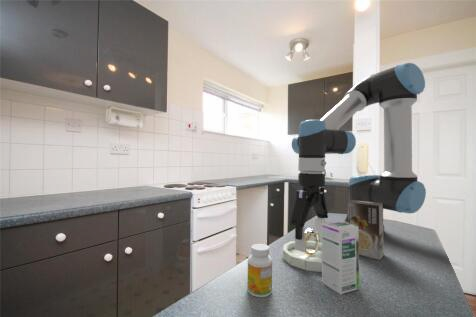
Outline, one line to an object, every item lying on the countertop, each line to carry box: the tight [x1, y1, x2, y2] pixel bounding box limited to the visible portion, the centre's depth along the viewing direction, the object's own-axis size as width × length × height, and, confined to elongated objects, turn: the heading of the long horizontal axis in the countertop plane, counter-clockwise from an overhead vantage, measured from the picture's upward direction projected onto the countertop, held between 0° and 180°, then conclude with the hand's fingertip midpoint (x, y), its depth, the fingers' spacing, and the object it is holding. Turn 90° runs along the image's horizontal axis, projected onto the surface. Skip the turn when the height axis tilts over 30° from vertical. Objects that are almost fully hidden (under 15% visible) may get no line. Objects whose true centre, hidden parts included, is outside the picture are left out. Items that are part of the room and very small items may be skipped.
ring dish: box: [282, 240, 322, 273], centre depth 67 cm, size 16×16×2 cm
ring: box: [304, 227, 321, 256], centre depth 68 cm, size 7×3×8 cm, turn 118°
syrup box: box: [321, 219, 360, 296], centre depth 53 cm, size 6×6×14 cm
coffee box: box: [347, 200, 385, 261], centre depth 72 cm, size 9×6×16 cm
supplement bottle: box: [247, 243, 273, 298], centre depth 50 cm, size 5×5×10 cm
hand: (310, 244), depth 67 cm, fingers open, 13 cm apart
